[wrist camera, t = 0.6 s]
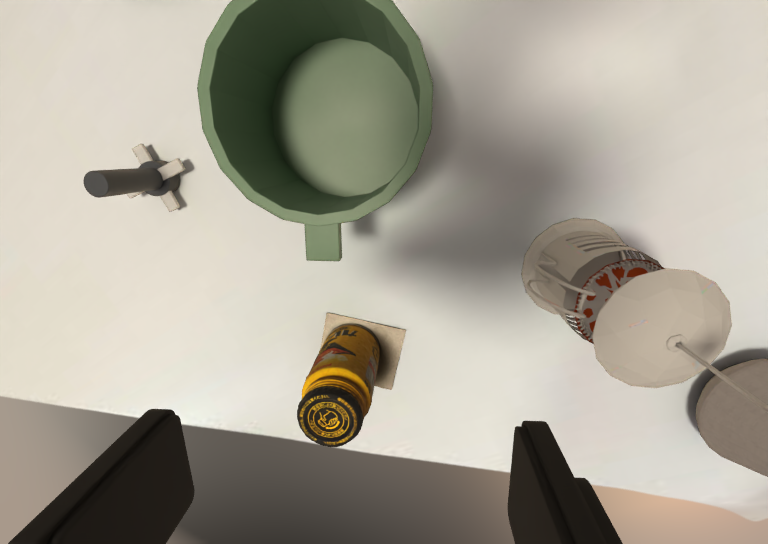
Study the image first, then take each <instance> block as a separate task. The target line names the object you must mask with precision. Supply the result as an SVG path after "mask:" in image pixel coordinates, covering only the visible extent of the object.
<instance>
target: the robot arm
mask: <svg viewBox="0 0 768 544" xmlns="http://www.w3.org/2000/svg"><path fill="white" fill-rule="evenodd" d="M193 497H194V486H193V481H192V476H191V471H190V466H189V461H188V456H187V451H186V446H185V441H184V436H183V432H182V426H181V421H180V418H179V416H177V415H175V412H174V411H173V410H168V409H150V410H148V411H147V412H146V413H145V414H144V415H142V416H141V417H140V418H139V419H138V420H137V421H136V422H135V423H134V424H133V425H132V426H131V427H130V428H129V429H128V430H127V431H126V432H125V433H124V434H123V435H121V436H120V437H119V438H118V439H117V440H116V441H115V442H114V443H113V444H112V445H111V446H110V447H109V448H108V449H107V450H106V451H105V452H104V453H103V454H102V455H101V456H99V457H98V458H97V459H96V460H95V461H94V462H93V463H92V464H91V465H90V466H89V467H88V468H87V469H86V470H85V471H84V472H83V473H82V474H81V475H79V476H78V477H77V478H76V479H75V480H74V481H73V482H72V483H71V484H70V485H69V486H68V487H67V488H66V489H65V490H64V491H63V492H62V493H61V494H59V496H58V497H56V498H55V500H53V501H52V502H51V503H50V504H49V505H48V506H47V507H46V508H45V509H44V510H43V511H42V512H41V513H40V514H39V515H37V516H36V517H35V518H34V519H33V520H32V521H31V522H30V523H29V524H28V525H27V526H26V527H25V528H24V529H23V530H22V531H21V532H20V533H18V535H16V536H15V537H14V538H13V539H12V540H11V541H10V542H9V543H8V544H166V542H167V541H168V539H169V537H170V536H171V535H172V533H173V532H174V530H175V528H176V527H177V525H178V524H179V522H180V521H181V519H182V518H183V516H184V514H185V513H186V511H187V510H188V508H189V506H190V505H191V503H192V501H193ZM508 516H509V521H510V526H511V529H512V533H513V537H514V541H515V544H622V542H621V540H620V538H619V536H618V534H617V532H616V531H615V529H614V527H613V525H612V523H611V521H610V519H609V517H608V516H607V514H606V512H605V510H604V508H603V506H602V505H601V503H600V501H599V499H598V497H597V495H596V493H595V491H594V490H593V488H592V486H591V485H590V483H589V482H588V480H586V479H585V478H574V476H573V474H572V472H571V470H570V468H569V466H568V464H567V462H566V460H565V458H564V456H563V454H562V452H561V450H560V448H559V446H558V444H557V442H556V440H555V438H554V436H553V434H552V432H551V430H550V428H549V426H548V424H547V423H546V422H544V421H523V423H522V427H519V426H516V427H515V432H514V442H513V453H512V464H511V475H510V486H509V497H508Z"/></svg>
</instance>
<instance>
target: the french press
mask: <svg viewBox="0 0 768 544" xmlns="http://www.w3.org/2000/svg"><path fill="white" fill-rule="evenodd" d="M626 246H628V245H625V244H624V243H623V241H622V240H621V239H620V238H619V236H618V235H617V234H616V232H615V231H614V230H613V229H612V228H610V227H608V226H606V225H604V224H602V223H600V222H599V221H597V220H591V219H576V218H573V219H570V220H567V221H564V222H560V223H557V224H554V225H552V226H551V227H549V228H548V229H547V230H545V231H544V232H543V233H542V234H540V235H539V236H538V237H536V238H535V240H534V241H533V243H532V245H531V246H530V248H529V249H528V251H527V253H526V254H525V256H524V262H523V268H522V274H521V275H522V279H523V283H524V286H525V290H526V293H527V294H528V295H529V296H530V297H531V299H532V300H533V301H534V302H535V303H536V305H537V306H539V307H541V308H543V309H545V310H547V311H549V312H551V313H553V314H559V315H560V316H561V317H562V318H563V319H564V320H565V321H566V323H567V324H568V325H569V326H570V327H571V328H572V327H573V328H574V329H573V328H572V329H573V330H574V331H575V332H576V333H577V334H579V335H580V336H581V337H582V338H583V339H585V340H587V341H589V342H591V343H593V344H594V348H595V354H596V359H597V360H598V361H599V362H600V364H601V365H602V366H603V367H604V368H605V370H606V371H607V372H608V373H609V375H610V376H612V377H614V378H616V379H618V380H620V381H622V382H625V383H627V384H629V385H631V386H639V387H650V388H659V387H664V386H668V385H673V384H677V383H682V382H684V381H686V380H688V379H689V378H691V377H693V376H695V375H696V374H698V373H700V372H701V371H703V370H705V369H709V370H710V371H711V372H713V373H714V374H716V375H717V376H718V377H720V378H721V379H722V380H724V381H725V382H726V383H728V384H729V385H731V386H732V387H733V388H735V389H736V390H737V391H739V392H740V393H741V394H743V395H744V396H746V397H747V398H748V399H750V400H751V401H752V402H754V403H755V404H756V405H758V406H759V407H761V408H762V409H763V410H765V411H766V412H767V413H768V405H766V404H765V403H763V402H762V401H761V400H759V399H758V398H756V397H755V396H754V395H752V394H751V393H749V392H748V391H747V390H745V389H744V388H742V387H741V386H740V385H738V384H737V383H735V382H734V381H733V380H731V379H730V378H728V377H727V376H726V375H724V374H723V373H721V372H720V371H719V370H717V369H716V368H714V367H713V366H712V365H710V364H711V363H712V362H713V361H714V359H715V358H716V357H717V356H718V355H719V354H720V353H721V351H722V350H723V349H724V347H725V344H726V341H727V338H728V335H729V332H730V329H731V326H732V323H731V313H730V303H729V301H728V299H727V298H726V296H725V295H724V294H723V292H722V291H721V289H720V288H719V286H718V285H717V283H716V282H714V281H712V280H710V279H708V278H706V277H704V276H702V275H701V274H699V273H697V272H695V271H690V270H679V269H667V268H663V267H662V266H661V265H660V264H659V262H658V261H656V260H655V259H653V258H651V257H649V256H648V255H646V254H644V253H643V252H641V251H639V250H637V249H634V248H632V247H629V246H628V247H626ZM626 250H628V252H629V254H630V255H631V257H632V259H630V258H629V255H628V254H627V252H626ZM631 250H632V251H634V252H635V254H636V255H637V257H638V259H639V260H637V259H636V258H635V256H634V255H633V253H632V251H631ZM638 252H639V253H641V254H642V255H643V257H644V258H645V260H643V259H642V258H641V256H640V254H639V253H638ZM566 315H568V316H570V315H571V316H575V317H574V318H570V317H568V316H566ZM566 318H567V319H570V320H572V321H576V322H577V323H574V322H571V321H569V320H567V319H566ZM569 323H570V324H573V325H575V326H578V328H577V327H574V326H571V325H570V324H569ZM576 330H578V331H580V332H581V333H582V334H580V333H578V332H577V331H576Z"/></svg>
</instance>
